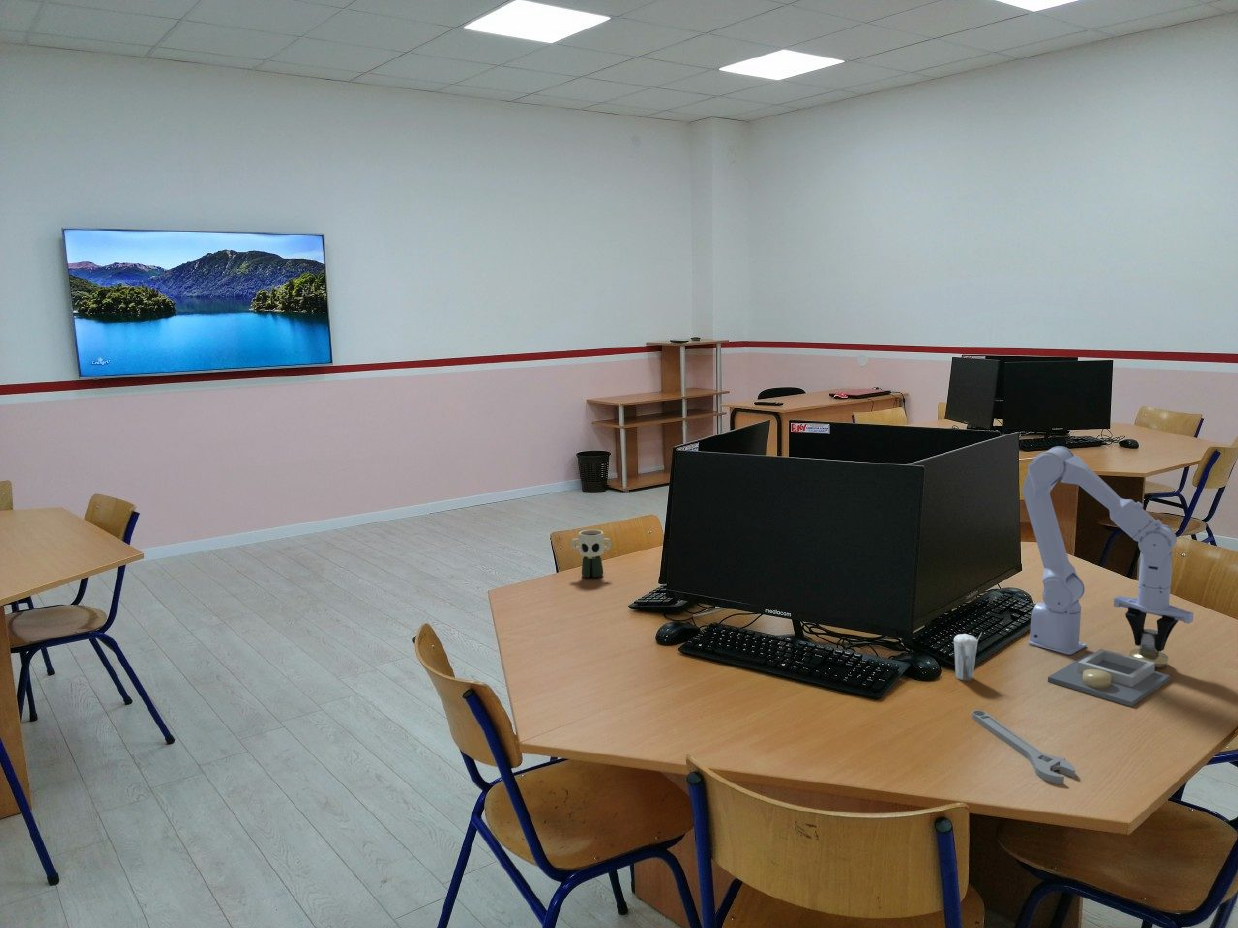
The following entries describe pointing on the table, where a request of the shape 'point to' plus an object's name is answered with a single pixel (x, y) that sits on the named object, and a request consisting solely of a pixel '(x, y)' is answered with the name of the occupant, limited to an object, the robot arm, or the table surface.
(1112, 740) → the table surface
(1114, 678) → the carrier
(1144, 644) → the flanged metal cylinder
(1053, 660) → the table surface
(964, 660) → the milkshake
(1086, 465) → the robot arm
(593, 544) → the character mug
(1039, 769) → the adjustable wrench
